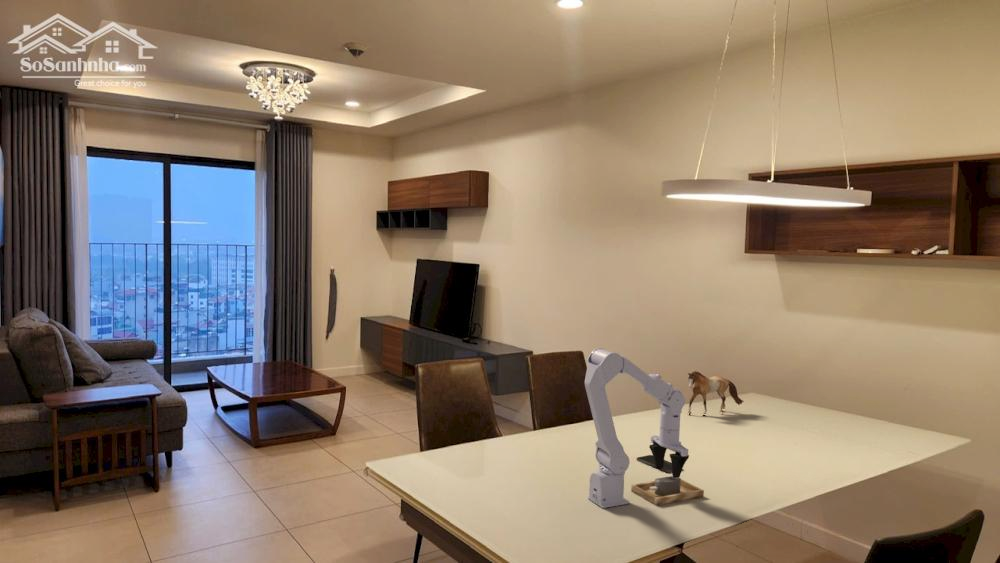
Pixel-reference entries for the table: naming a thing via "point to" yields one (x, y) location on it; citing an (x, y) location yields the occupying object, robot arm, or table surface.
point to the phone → (650, 462)
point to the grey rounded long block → (666, 486)
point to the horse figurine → (711, 388)
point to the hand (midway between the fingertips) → (667, 472)
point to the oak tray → (685, 493)
